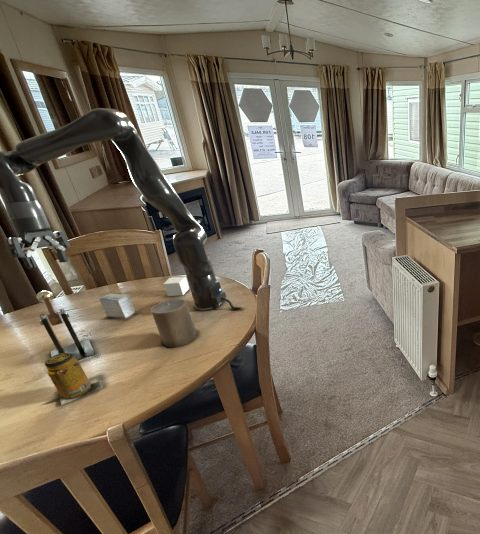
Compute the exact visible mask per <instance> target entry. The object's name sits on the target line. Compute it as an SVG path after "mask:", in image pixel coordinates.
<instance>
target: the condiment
mask: <svg viewBox="0 0 480 534" xmlns="http://www.w3.org/2000/svg"><path fill="white" fill-rule="evenodd" d="M44 366H45V367H46V369H47V372H46V373H47V375H48V377H49V378H50V380H51V382H52V384H53V386H54V387H55V389H56V390H57V392H58V394H59V395H60V396H59V401H60V405H61V406H63V405H65V404H68V403H70V402H73V401H75V400H78V399H80V398H82V397H85V396H87V395H89V394H91V393H94V392H96V391H98V390H101V389H103V388H104V385H103V383H102V380H98V381H95V382H94V383H93V382H92V383H91V382H90V380H89V378H88V375H87V374H86V372H85V371H84V369H83V367H82V365H81V363H80V360H75V357H73V354H72V353H61V354H57V355H55V356H50V357H49V358H47V359H46V360H45V362H44Z"/></svg>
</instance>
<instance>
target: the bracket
mask: <svg viewBox="0 0 480 534" xmlns="http://www.w3.org/2000/svg"><path fill="white" fill-rule="evenodd" d="M58 313H59V316H60V318H61V320H63V321H62V322H63V323H64V325H65V327H66V329H67V330H68V333H69V334H70V336H71V338H72V341H73V342H74V343H71V344H69V345H65V346H62V344H61V341H60V340H59V338H58V336H57V334H56V333H55V331H54V329H53V326H52V324H51V323H50V321H49V319H48V317H47V315H46V313H41V314H39V318H40V320H39V323H40V325H41V326H44V329H45V330H46V332H47V334H48V335H49V338H50V339H51V341H52V344H53V345H54V347H55V348H56V349H53V350H50V357H52V356H55V355H57V354H61V353H72V354H73V357H75V360H78V361H80V360H83V359H87V358H89V357H93V356H95V355H96V353H95V351H94V347H93V346H92V344H91V341H90V340H89V338H86V339H84V340H80V339H79V337H78V335H77V332H76V331H75V329H74V327H73V325H72V323H71V321H70V319H69V318H70V315H69V313H66V311H65V309H64V308H60V309H58Z"/></svg>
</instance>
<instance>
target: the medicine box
mask: <svg viewBox="0 0 480 534" xmlns="http://www.w3.org/2000/svg"><path fill="white" fill-rule="evenodd" d="M99 302H100V304H101V307H102V309H103V310H104V313H105V315H106V317H107V318H108V317H111V318H122V319H127V318H128V317H130V316H132V315H133V314H135V313H137V311H136V309H135V307H134V304H133V302H132V300H131V298H130V295H128V294H121V293H120V294H119V293H108V294H107V295H104V296H103V297H101V298H99Z"/></svg>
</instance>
